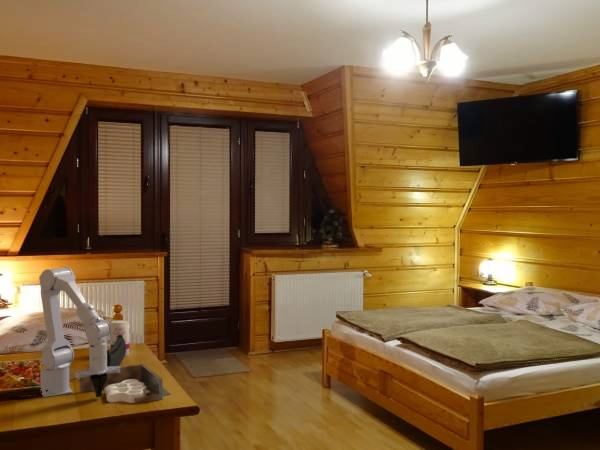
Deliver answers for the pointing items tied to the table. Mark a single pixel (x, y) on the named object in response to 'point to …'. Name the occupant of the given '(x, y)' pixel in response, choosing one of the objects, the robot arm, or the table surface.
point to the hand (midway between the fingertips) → (98, 396)
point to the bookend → (152, 382)
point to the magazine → (116, 352)
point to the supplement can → (120, 333)
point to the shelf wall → (119, 381)
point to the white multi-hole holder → (125, 391)
